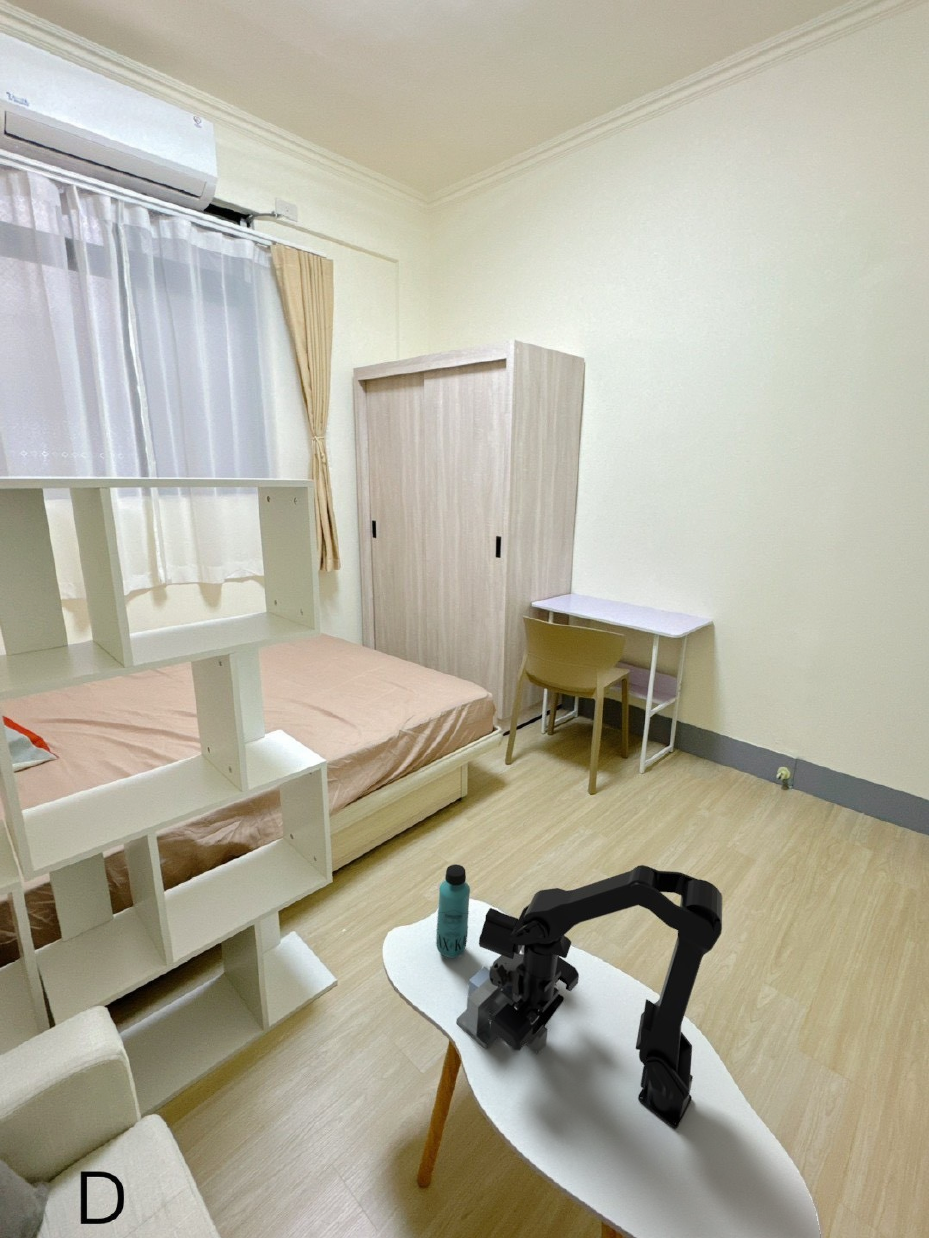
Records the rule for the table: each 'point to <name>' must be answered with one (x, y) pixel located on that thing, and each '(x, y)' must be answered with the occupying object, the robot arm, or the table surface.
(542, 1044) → the plug
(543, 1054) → the table surface
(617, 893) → the robot arm
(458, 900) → the beverage bottle
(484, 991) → the gray arch-shaped bracket
